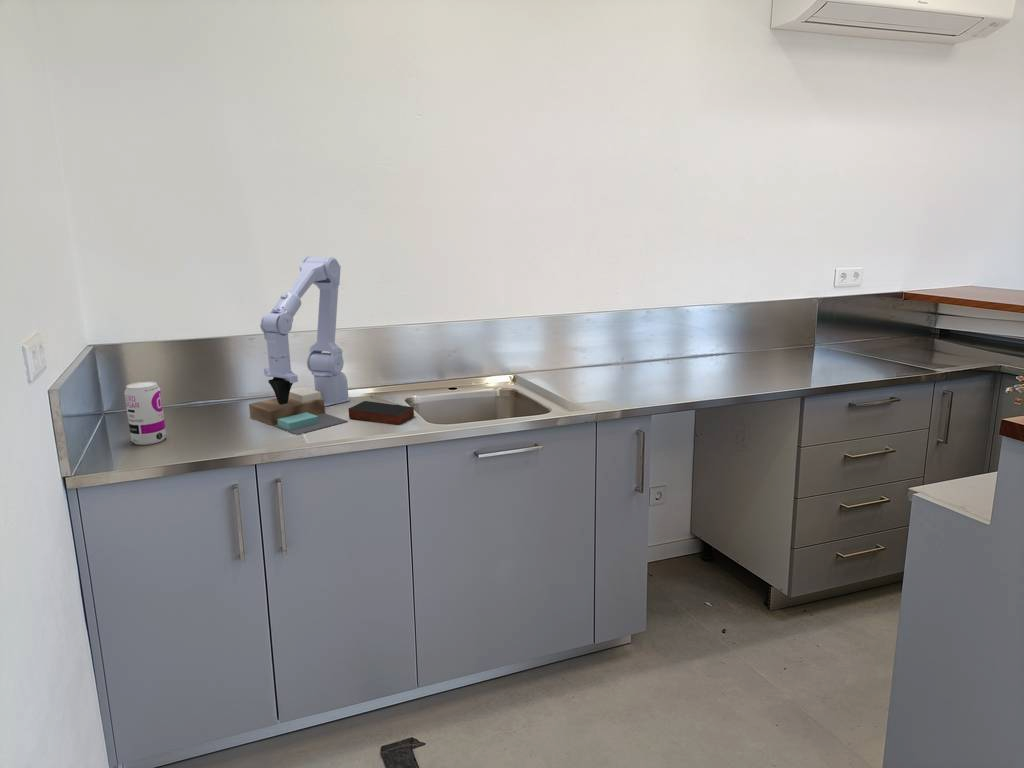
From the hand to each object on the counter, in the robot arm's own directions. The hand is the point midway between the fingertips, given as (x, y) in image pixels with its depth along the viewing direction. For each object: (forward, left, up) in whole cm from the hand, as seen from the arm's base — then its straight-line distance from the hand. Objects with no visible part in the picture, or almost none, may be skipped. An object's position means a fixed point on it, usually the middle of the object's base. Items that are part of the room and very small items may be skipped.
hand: (283, 403), depth 204 cm
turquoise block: (0, +7, -3) cm, 8 cm away
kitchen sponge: (-15, +19, -4) cm, 25 cm away
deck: (-4, -4, -5) cm, 7 cm away
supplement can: (+33, -10, -5) cm, 35 cm away
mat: (-3, +9, -5) cm, 10 cm away
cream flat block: (-9, -4, -1) cm, 10 cm away
